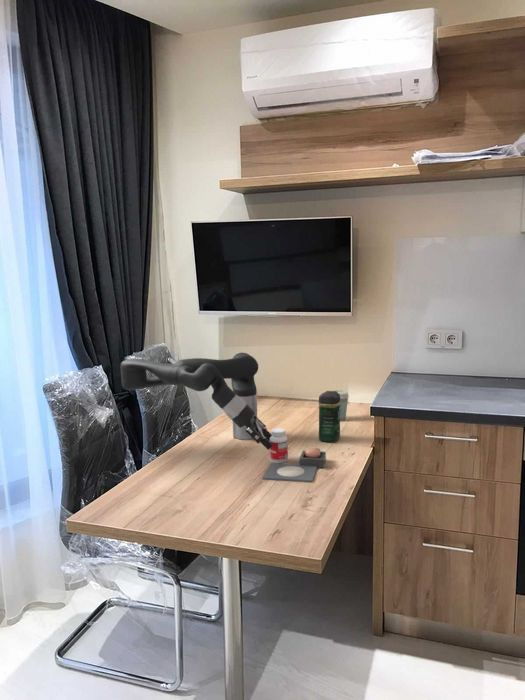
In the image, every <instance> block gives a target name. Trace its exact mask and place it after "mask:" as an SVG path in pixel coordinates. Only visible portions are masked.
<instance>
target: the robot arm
mask: <svg viewBox="0 0 525 700" xmlns="http://www.w3.org/2000/svg"><path fill="white" fill-rule="evenodd" d="M258 371H259V364H258V360H257V359H256V358H255V357H253V356H252V355H250V354H248V353H246V352H238V353H235V355H234V356H233V357H232V358H227V359H213V358H201V357H197V358H194V357H193V358H185V359H183V358H182V359H179V360H178V361H176V362H175V363H173V364H165V363H161V362H156V361H154V360H153V361H152V360H147V359H142V358H130V359H124V360H123V361H122V362H120V380H121V386H122V389H124V390H127V391H128V390H129V391H132V390H133V391H134V390H141V389H149V388H154V387H161V386H178V387H180V386H181V387H183V386H184V387H186V388H188V389H190V390H192V391H193V390H194V391H195V392H203V391H206V390H208V389H209V388H210V386H211V388H212V390H213V392H212V394H211V399H212V400H213V401H214V403H215V404H216V405H217V406H219V408H220V409H221V410H222V411H223V412H224V414H225V415H226V416H227V417H228V418H229V419H230V420H231V421H232V436H233V437H234V438H233V439H238V440H252V439H253V440H254V441H255V442H256V443H257V444H261V445H262V446H263V447H264V448H265V449H266V450H268V451H270V448H271V447H272V444H271V443H270V437H271V436H272V432H270V431H269V430H268V429H267V425H266V424H265V423H263V422H262V420H261V419H259V418H258V398H257V397H258V395H257V394H258V392H257V385H256V381H255V375H257V373H258ZM147 372H149V373H152V375H154V376H152V377H148V375H147ZM225 379H229V380H230V381H231V387H232V388H231V387H229V386H228V384H227V382H226V381H225Z"/></svg>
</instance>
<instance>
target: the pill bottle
mask: <svg viewBox="0 0 525 700" xmlns="http://www.w3.org/2000/svg"><path fill="white" fill-rule="evenodd" d="M271 434H272V436H271V437H270V441H269V442H270V443H271V444H272V447H271V448H270V449H269V459H270V463H276V464H285V463H286V462H288V459H289V457H288V456H289V452H288V437H287V435H286V429H284V428H281V427H280V428H278V427H277V428H272V429H271Z"/></svg>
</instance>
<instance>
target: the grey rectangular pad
mask: <svg viewBox="0 0 525 700" xmlns="http://www.w3.org/2000/svg"><path fill="white" fill-rule="evenodd" d="M317 469H318V468H317V466H304V465H299V464H294V463H293V464H291V463H273V462H270V464H269V466H268V468H267V469H266V471H265V473H264V475H263V476H262V480H269V481H270V480H271V481H283V482H298V483H299V482H300V483H301V482H304V483H313V481H314V478H315V475H316V472H317Z"/></svg>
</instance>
